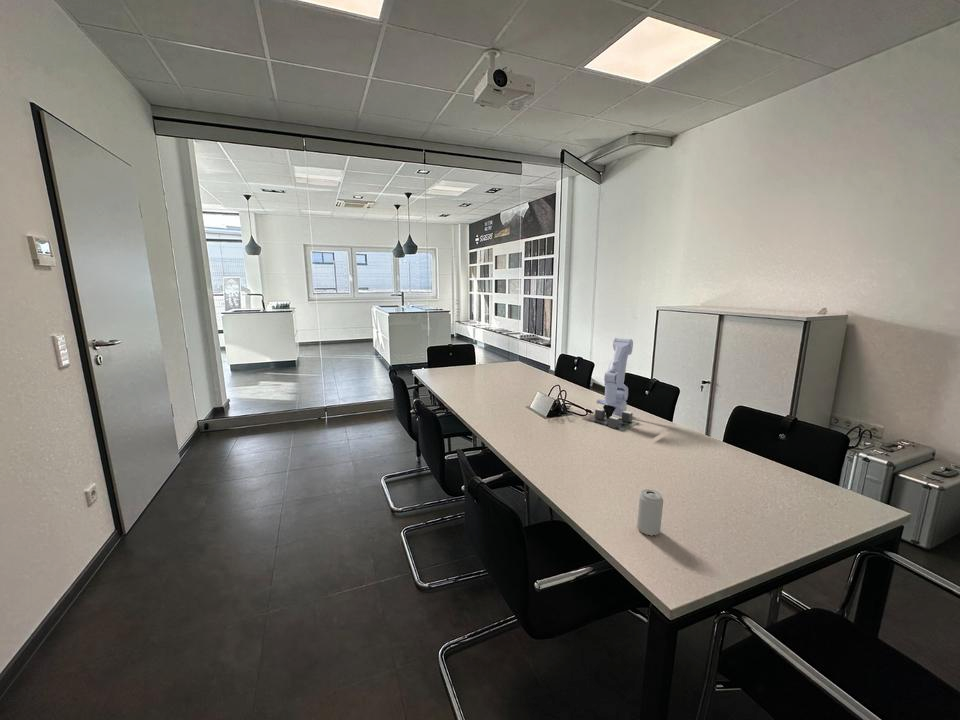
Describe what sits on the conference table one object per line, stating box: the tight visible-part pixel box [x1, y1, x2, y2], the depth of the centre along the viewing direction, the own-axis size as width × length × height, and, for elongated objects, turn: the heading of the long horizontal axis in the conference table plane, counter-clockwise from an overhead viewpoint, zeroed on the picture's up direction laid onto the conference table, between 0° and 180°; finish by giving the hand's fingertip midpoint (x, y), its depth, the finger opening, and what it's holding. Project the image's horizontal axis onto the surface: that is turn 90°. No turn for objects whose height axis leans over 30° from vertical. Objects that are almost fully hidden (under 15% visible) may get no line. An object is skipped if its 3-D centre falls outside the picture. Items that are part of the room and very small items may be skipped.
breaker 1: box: [608, 415, 621, 429], centre depth 202 cm, size 4×4×5 cm
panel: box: [581, 413, 640, 432], centre depth 212 cm, size 18×24×2 cm
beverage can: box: [636, 488, 664, 537], centre depth 117 cm, size 6×6×12 cm
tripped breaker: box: [594, 407, 606, 419], centre depth 215 cm, size 4×4×5 cm
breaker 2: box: [621, 410, 634, 422], centre depth 211 cm, size 4×4×5 cm
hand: (608, 419), depth 211 cm, fingers closed
